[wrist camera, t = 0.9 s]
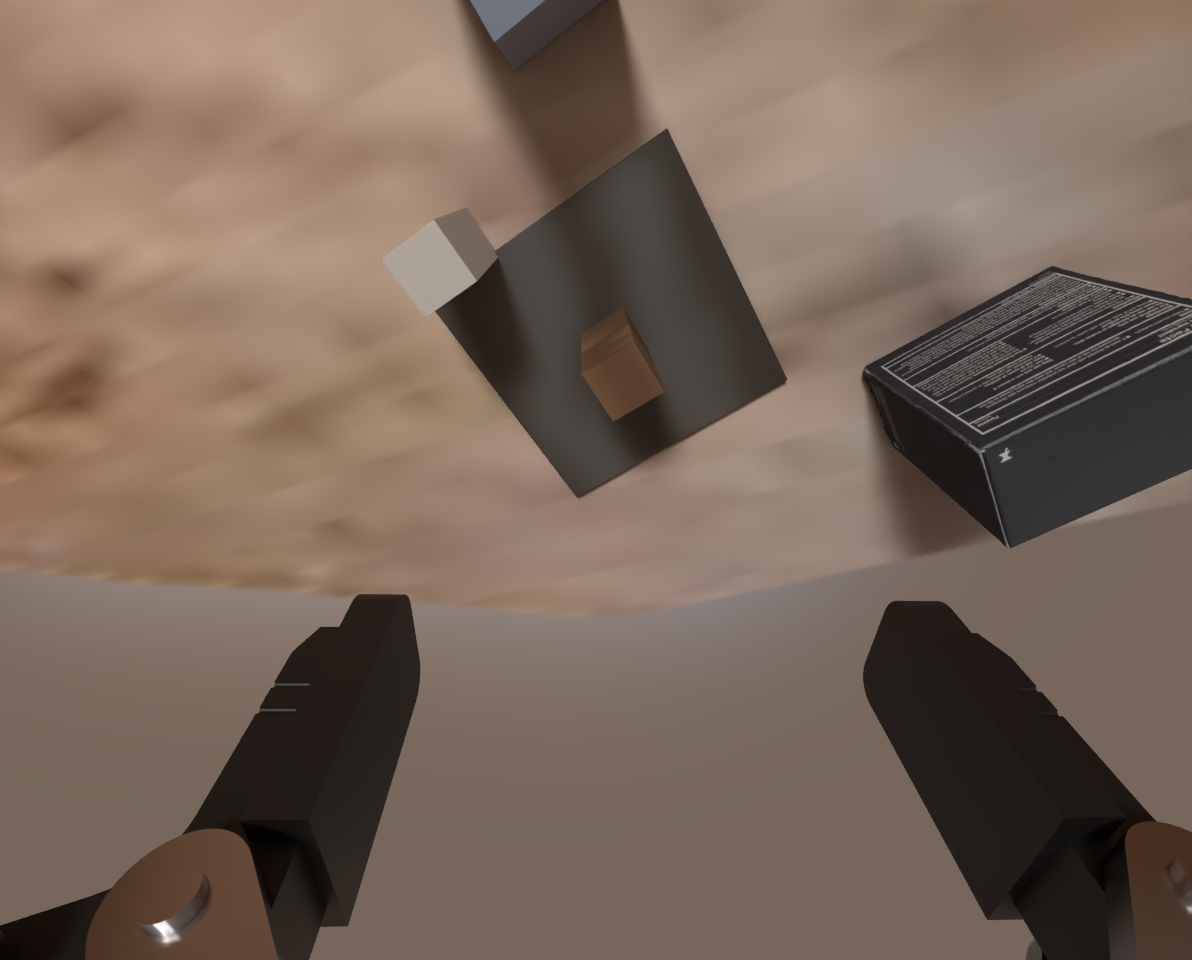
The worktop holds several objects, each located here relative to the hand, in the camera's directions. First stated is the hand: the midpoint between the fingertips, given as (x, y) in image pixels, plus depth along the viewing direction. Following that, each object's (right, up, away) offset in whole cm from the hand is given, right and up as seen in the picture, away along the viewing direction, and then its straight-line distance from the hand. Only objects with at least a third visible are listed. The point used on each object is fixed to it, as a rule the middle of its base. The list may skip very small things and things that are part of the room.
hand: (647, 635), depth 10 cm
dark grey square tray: (0, +10, +21) cm, 23 cm away
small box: (+20, +9, +22) cm, 31 cm away
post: (-8, +14, +18) cm, 24 cm away
